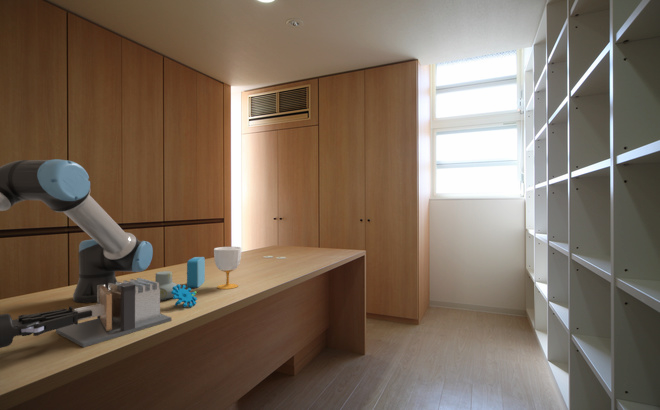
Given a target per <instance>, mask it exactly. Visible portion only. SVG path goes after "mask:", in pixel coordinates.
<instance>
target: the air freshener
mask: <svg viewBox="0 0 660 410" xmlns="http://www.w3.org/2000/svg"><path fill="white" fill-rule="evenodd" d="M154 282H158V283H159V289H160V301H166V300H169V299H172V298H173V296H174V294H172V293H171V292H172V290H173V289H172V288H173V287H174V286H176V285H177V284H178V283H176V282H173V272H172V271H168V270H165V271H164V270H163V271H158V272H156V273H155V281H154ZM177 289H178V288H177Z"/></svg>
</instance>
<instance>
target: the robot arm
mask: <svg viewBox="0 0 660 410" xmlns="http://www.w3.org/2000/svg"><path fill="white" fill-rule="evenodd" d="M89 179H90V177H89V174H88V171H86V169H85V168H84V167H83V166H82V165H80V164H79V163H77V162H75V161H72V160H67V159H66V160H65V159H58V158H57V159H55V158H54V159H44V160H43V159H38V160H37V159H33V160H32V159H31V160H30V159H21V160H19V159H18V160H15V161H12V162H11V161H10V162H8V163H6V164H3V165H2V166H0V212H3V211H4V212H5V211H8V210H9V209H11V208H12V207H13V206H14V205H16V204H17V203H20V202H24V201H41V202H42V203H44V204H45V205H46V206H47V207H49V209H50V210H52V211H53V212H56V213H63V214H65V216H67V217H68V218H69V219H70V220H71V221H73V223H74V224H75V225H77V226H78V227H79V228H80V229H81V230H82V231H83V232H84V233H86V234H87V235H88V236H89V237H90V238H91V239H85V240H82V241H81V242H80V243H79V245H78V273H79V274H78V281H77V283H76V286H75V289H74V292H73V295H72V300H73V302H74V303H79V304H80V303H81V304H82V303H84V304H87V303H96V304H93V305H88V306H83V307H78V308H74V306H68V308H62V309H55V310H49V311H44V312H43V311H42V312H37V313H36V312H35V313H31V314H20V315H18V318H16V319H15V318H14V319H13V318H12V316H11V314H9V313H3V314H0V349H2V348H5V347H9V346H10V345H12V343H13V341H14V338H16V337H19V336H22V337H27V336H31V335H33V336H34V337H39V336H41V335H43V334H45V333H48V332H52V331H56V329H59V328H63V327H66V326H70V325H73V324H78V323H79V321H82V320H86V319H91V318H97V316H100V315H104V305H102V304H97V285H101V284H106V288H107V289H108V283H113V284H116V282H118V280H117V277H116V272H131V273H132V272H133V273H138V272H144V271H145V270H147V268H148V267H150V265H151V262H152V259H153V256H154V255H153V253H154V252H153V251H154V249H153V245H152V243H150V242H149V241H145V240H139V238H137V237H136V236H135V235H134V234H133V233H131V232H125V230H123V228H121V227H120V225H119V224H118V223H117V222H116V221H115V220H114V219H113V218H112V217H111V216H110V215H109V214H108V213H107V211H106V210H105V209H104V208H103V207H102V206H101V205H100V204H99V203H98V202H97V201H96V200H95V199H94V198H93V197H92V195H90V194H91V181H90V180H89Z"/></svg>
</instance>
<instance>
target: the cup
mask: <svg viewBox="0 0 660 410" xmlns="http://www.w3.org/2000/svg"><path fill="white" fill-rule="evenodd" d="M213 256H214V264H215V266H216V267H217V269H218V270H219V271H221V272H224V273H225V275H226V280H225V281H226V283H224V284H220V285H217V286H216V288H217V289H219V290H232V289H237V288H238V287H239V284H236V283H230V272H233V271H235V270H236V269H237V268H238V266H239V265H240V263H241V257H242V247H240V246H221V247H220V246H219V247H214V249H213Z"/></svg>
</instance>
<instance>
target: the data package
mask: <svg viewBox="0 0 660 410" xmlns="http://www.w3.org/2000/svg"><path fill="white" fill-rule="evenodd" d="M205 261H206V259H205V257H204V256H195V257H192V258H190V259H188V260H187V263H186V284H187V285H186V288H187V289H188V288H191V289H192V288H193V289H195V288H196V289H197V288H199V287H201V286H202V285H203V284H204V283H205V278H206V277H205V276H206V275H205V274H206V265H205V264H206V262H205Z"/></svg>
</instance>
